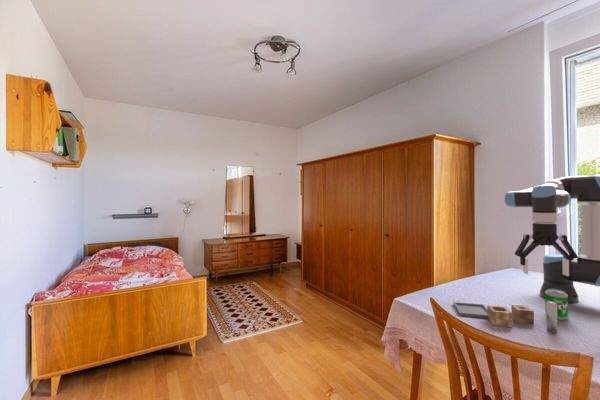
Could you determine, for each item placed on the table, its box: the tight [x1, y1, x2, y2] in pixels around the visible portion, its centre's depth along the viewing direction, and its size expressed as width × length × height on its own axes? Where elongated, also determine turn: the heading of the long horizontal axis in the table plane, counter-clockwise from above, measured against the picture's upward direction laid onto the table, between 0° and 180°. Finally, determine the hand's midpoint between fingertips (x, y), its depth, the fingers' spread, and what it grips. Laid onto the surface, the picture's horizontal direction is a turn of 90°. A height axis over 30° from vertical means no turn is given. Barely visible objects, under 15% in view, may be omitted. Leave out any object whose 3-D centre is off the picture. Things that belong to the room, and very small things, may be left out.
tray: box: [453, 301, 488, 319], centre depth 133 cm, size 14×14×2 cm
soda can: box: [544, 289, 569, 321], centre depth 124 cm, size 8×8×12 cm
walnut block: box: [510, 304, 535, 325], centre depth 122 cm, size 6×6×6 cm
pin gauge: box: [546, 301, 558, 334], centre depth 112 cm, size 3×3×12 cm
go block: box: [486, 304, 513, 328], centre depth 121 cm, size 7×7×6 cm
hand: (545, 274), depth 113 cm, fingers open, 13 cm apart
